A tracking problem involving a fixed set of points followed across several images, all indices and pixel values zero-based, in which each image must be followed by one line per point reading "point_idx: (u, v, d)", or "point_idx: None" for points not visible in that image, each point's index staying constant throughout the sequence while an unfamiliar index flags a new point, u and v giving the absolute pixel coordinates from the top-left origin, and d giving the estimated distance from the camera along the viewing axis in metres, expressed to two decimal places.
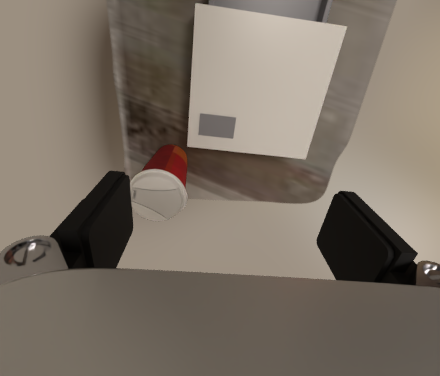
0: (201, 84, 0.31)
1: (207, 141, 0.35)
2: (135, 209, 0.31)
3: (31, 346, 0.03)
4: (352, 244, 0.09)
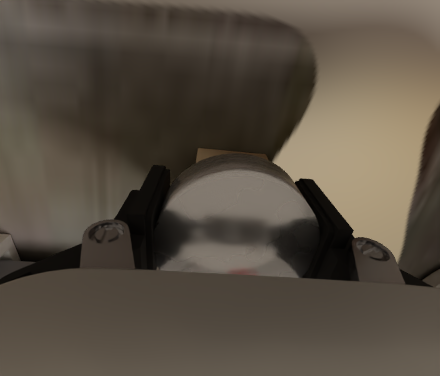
0: None
1: None
2: None
3: (31, 346, 0.03)
4: None
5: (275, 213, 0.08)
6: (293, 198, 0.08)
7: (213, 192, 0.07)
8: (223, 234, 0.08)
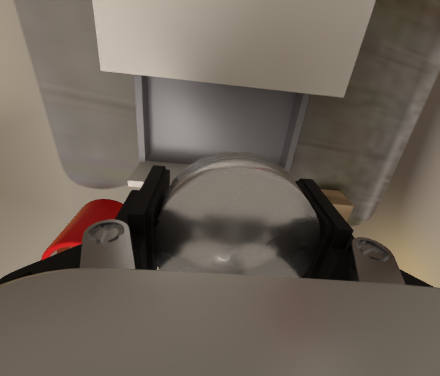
0: None
1: None
2: None
3: (31, 346, 0.03)
4: None
5: (276, 212, 0.08)
6: (293, 196, 0.08)
7: (214, 190, 0.07)
8: (224, 232, 0.08)
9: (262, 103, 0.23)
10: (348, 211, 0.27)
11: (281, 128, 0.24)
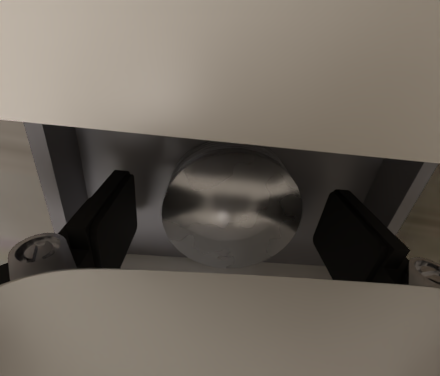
0: None
1: None
2: None
3: (31, 346, 0.03)
4: (347, 242, 0.09)
5: (264, 185, 0.10)
6: (278, 172, 0.09)
7: (212, 166, 0.09)
8: (221, 203, 0.10)
9: (321, 154, 0.11)
10: None
11: None
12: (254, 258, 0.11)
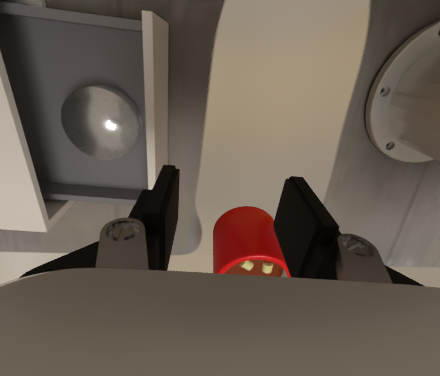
0: None
1: None
2: None
3: (31, 346, 0.03)
4: (294, 223, 0.10)
5: (75, 110, 0.19)
6: (65, 104, 0.19)
7: (72, 136, 0.20)
8: (91, 132, 0.20)
9: (70, 67, 0.19)
10: None
11: (94, 36, 0.18)
12: (125, 111, 0.19)
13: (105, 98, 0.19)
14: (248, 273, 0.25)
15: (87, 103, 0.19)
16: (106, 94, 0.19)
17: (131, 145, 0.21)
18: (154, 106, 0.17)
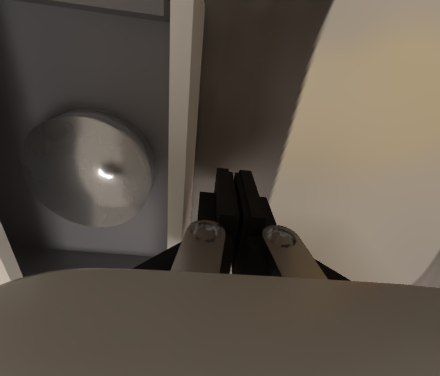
0: None
1: None
2: None
3: (31, 346, 0.03)
4: None
5: (44, 156, 0.11)
6: (27, 146, 0.11)
7: (42, 194, 0.12)
8: (73, 187, 0.12)
9: (37, 80, 0.11)
10: None
11: (76, 26, 0.10)
12: (130, 155, 0.11)
13: (94, 135, 0.11)
14: None
15: (64, 144, 0.11)
16: (96, 129, 0.11)
17: (139, 206, 0.13)
18: (186, 160, 0.09)
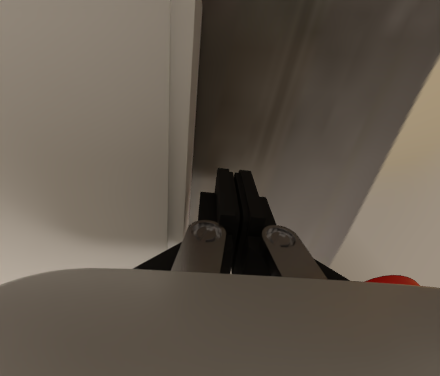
0: None
1: None
2: None
3: (31, 346, 0.03)
4: None
5: None
6: None
7: None
8: None
9: None
10: None
11: None
12: None
13: None
14: None
15: None
16: None
17: None
18: (187, 162, 0.09)
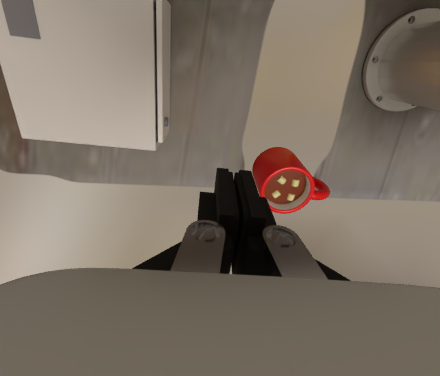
0: None
1: None
2: None
3: (31, 346, 0.03)
4: None
5: None
6: None
7: None
8: None
9: None
10: None
11: None
12: None
13: None
14: (282, 188, 0.36)
15: None
16: None
17: None
18: (162, 53, 0.27)
